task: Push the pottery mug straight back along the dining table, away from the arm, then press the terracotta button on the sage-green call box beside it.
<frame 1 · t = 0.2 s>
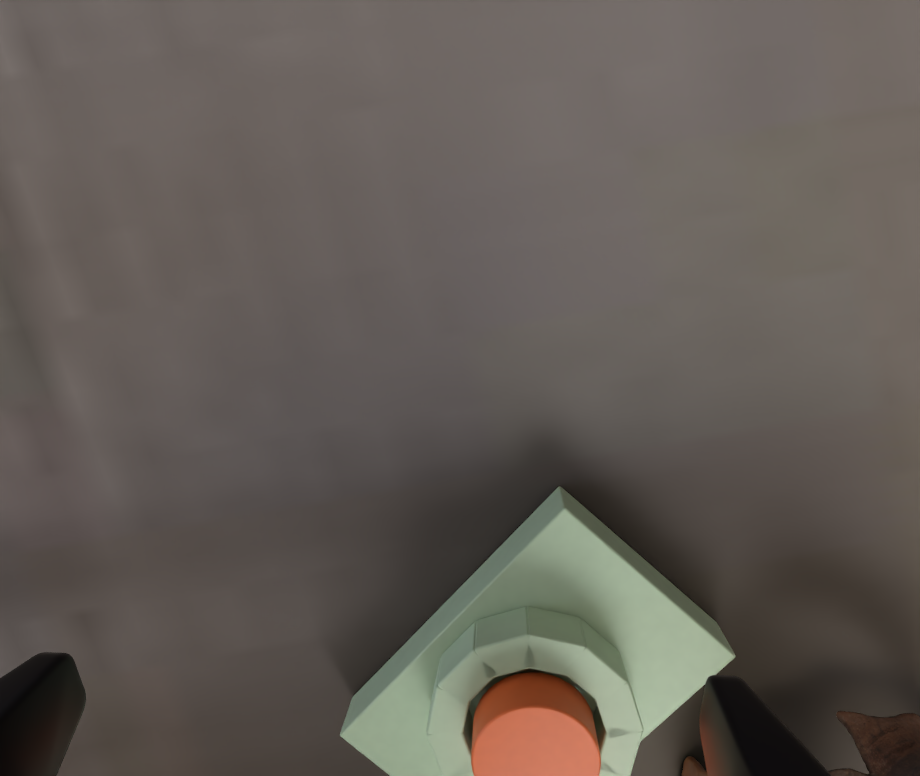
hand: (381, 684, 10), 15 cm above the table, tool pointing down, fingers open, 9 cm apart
call button: (534, 743, 22), point 4 cm above the table, slide at 0.1 cm
call box: (529, 660, 26), on the table
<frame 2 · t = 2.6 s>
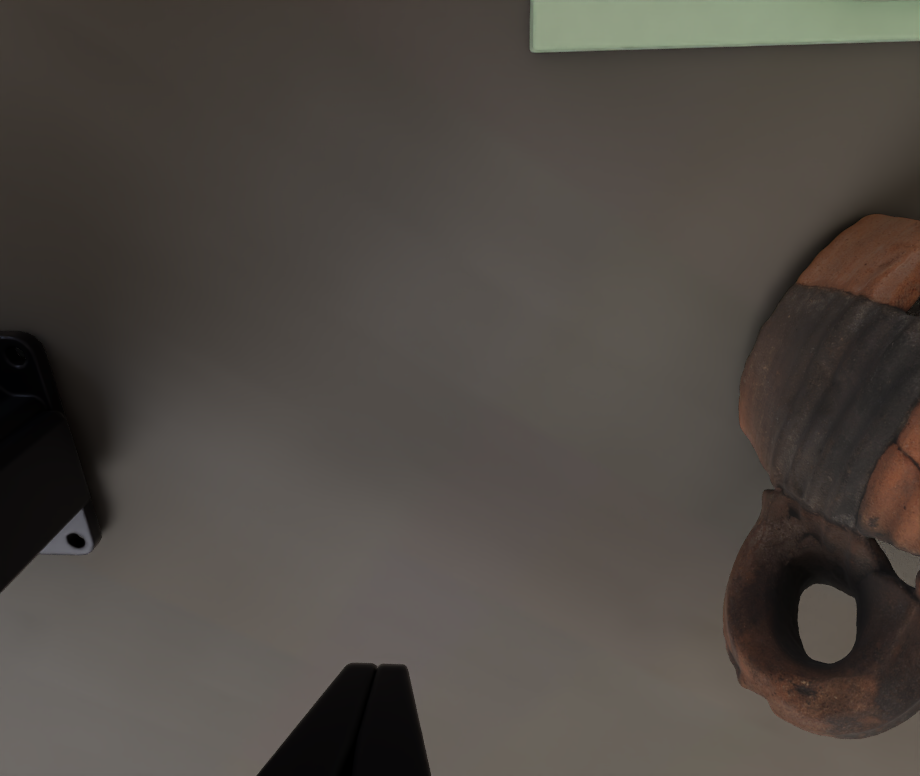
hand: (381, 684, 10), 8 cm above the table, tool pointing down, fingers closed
pottery mug: (902, 413, 16), on the table
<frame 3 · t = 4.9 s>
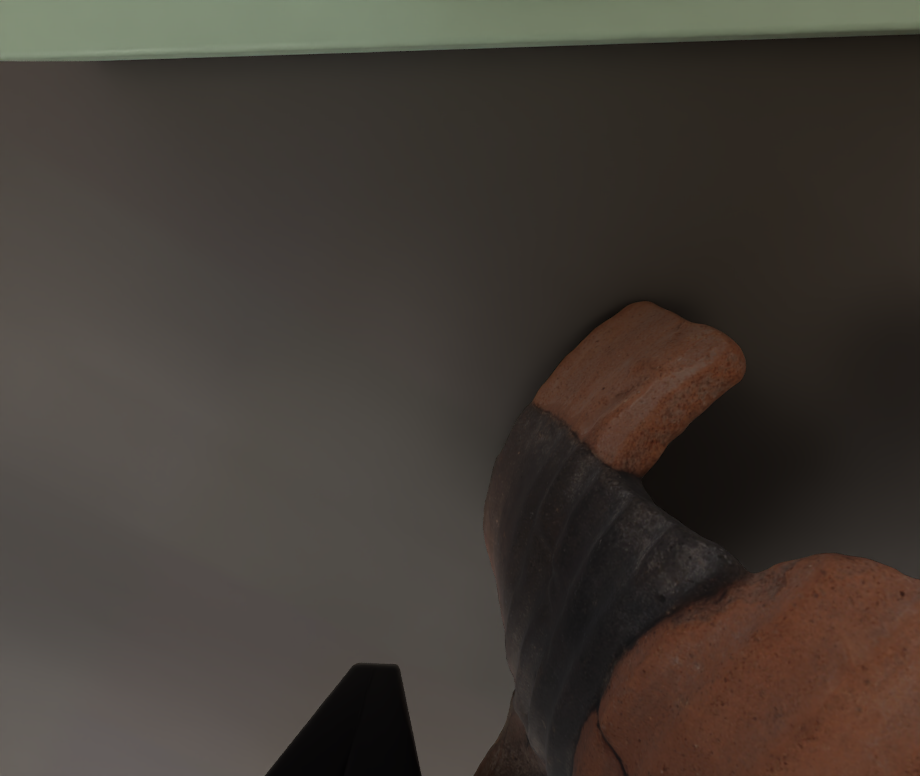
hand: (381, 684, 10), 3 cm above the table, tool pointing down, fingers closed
pottery mug: (727, 563, 12), on the table, touching gripper
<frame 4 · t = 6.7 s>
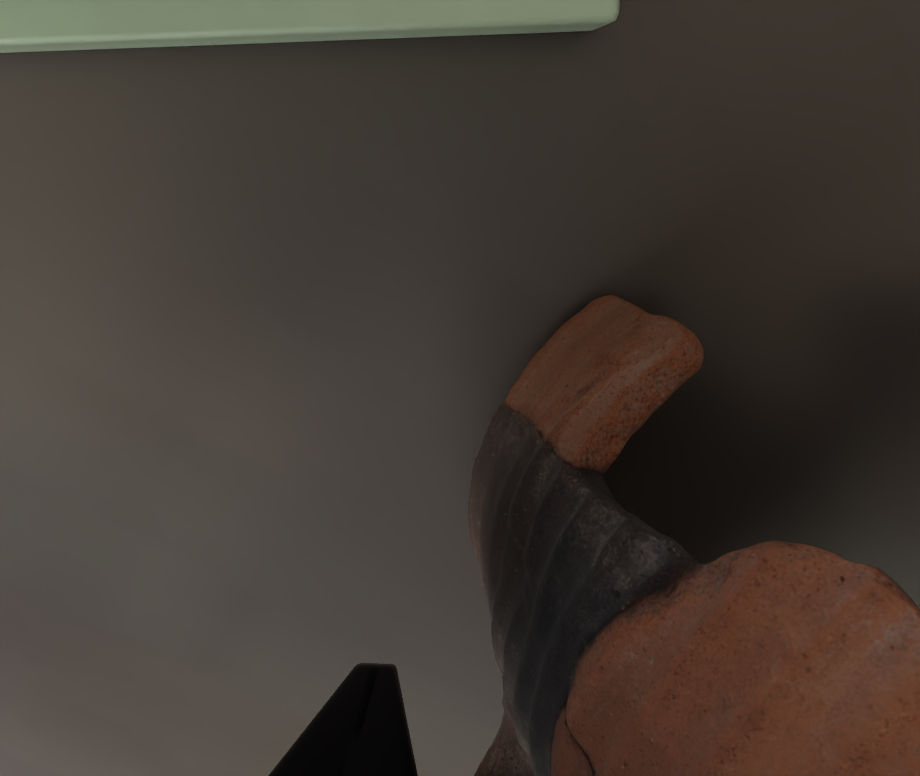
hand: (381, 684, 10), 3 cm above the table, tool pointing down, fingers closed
pottery mug: (721, 552, 12), on the table, touching gripper
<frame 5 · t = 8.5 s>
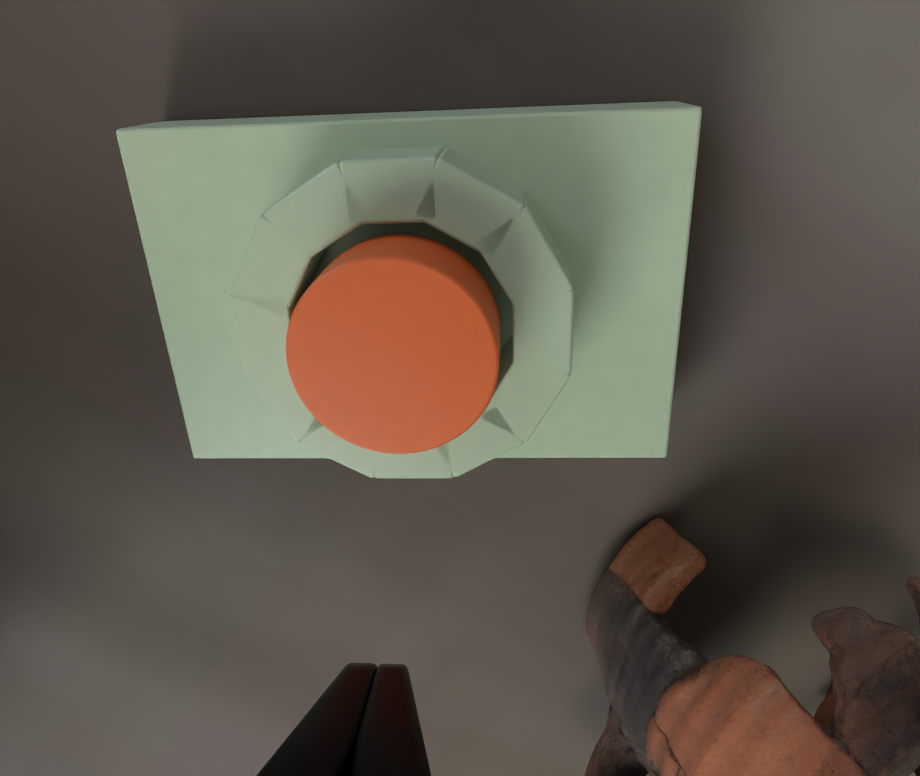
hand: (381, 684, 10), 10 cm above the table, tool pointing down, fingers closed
call button: (398, 344, 13), point 4 cm above the table, slide at 0.1 cm
pottery mug: (714, 631, 22), on the table
call box: (423, 279, 18), on the table
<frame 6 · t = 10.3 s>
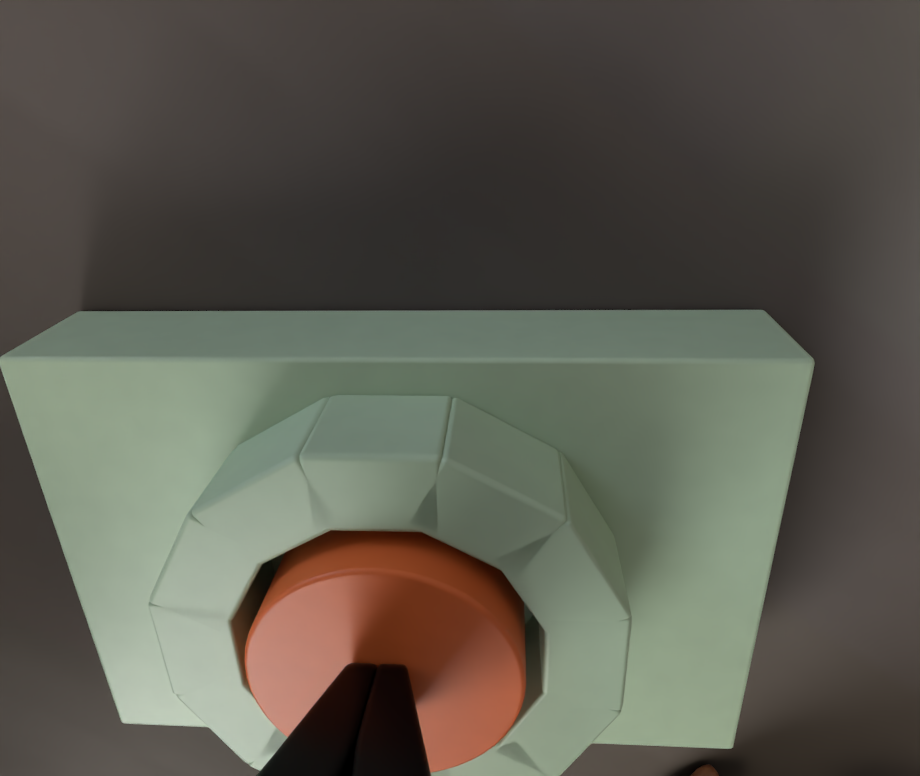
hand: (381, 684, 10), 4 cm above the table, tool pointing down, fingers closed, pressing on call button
call button: (392, 636, 10), point 4 cm above the table, slide at -0.8 cm, touching gripper
call box: (420, 501, 14), on the table
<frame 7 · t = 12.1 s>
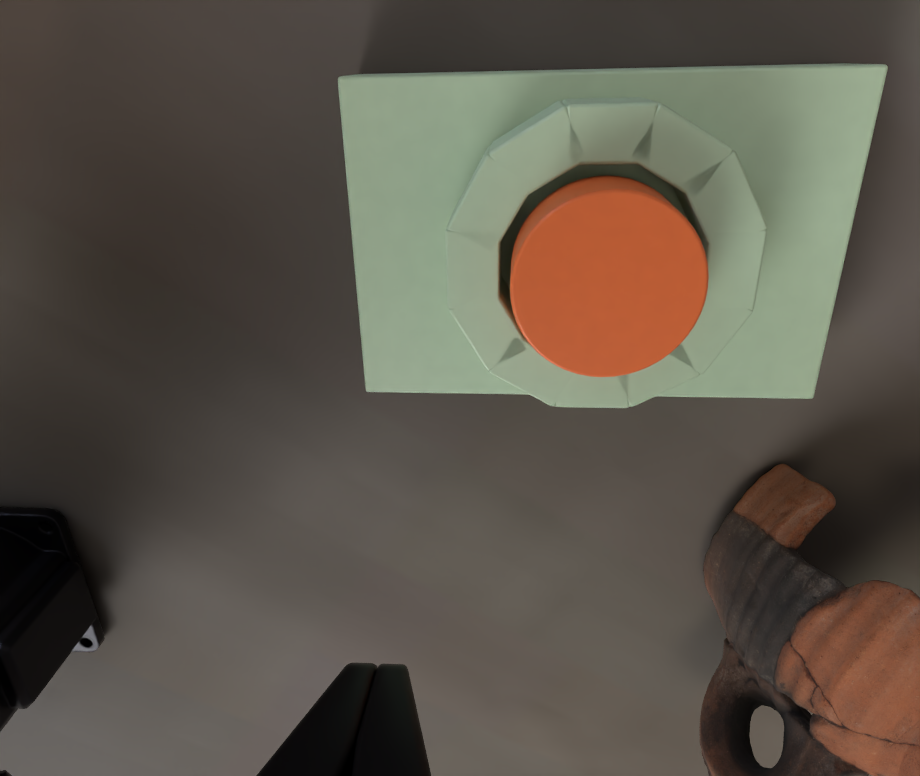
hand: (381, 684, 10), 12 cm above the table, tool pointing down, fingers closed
call button: (603, 277, 15), point 4 cm above the table, slide at 0.1 cm
pottery mug: (821, 576, 23), on the table
call box: (585, 229, 19), on the table
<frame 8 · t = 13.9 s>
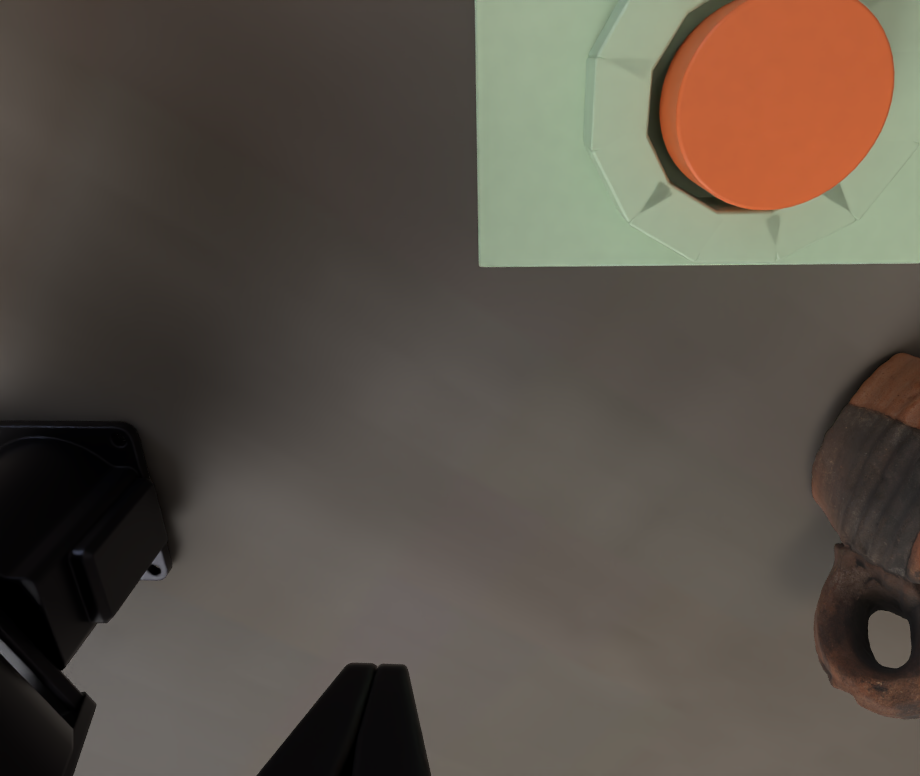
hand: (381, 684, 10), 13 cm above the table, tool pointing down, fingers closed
call button: (768, 102, 14), point 4 cm above the table, slide at 0.1 cm
call box: (710, 92, 18), on the table
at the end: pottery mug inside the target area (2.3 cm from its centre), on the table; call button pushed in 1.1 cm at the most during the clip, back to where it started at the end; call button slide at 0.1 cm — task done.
